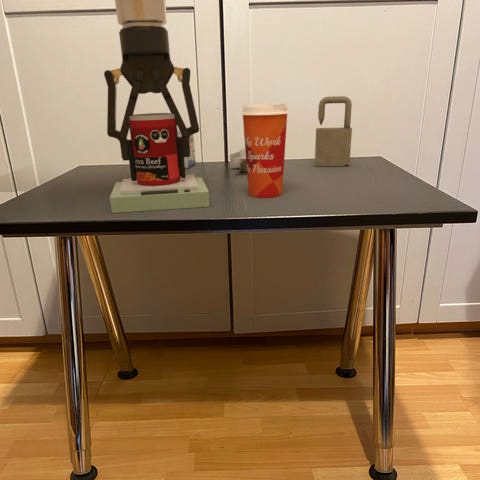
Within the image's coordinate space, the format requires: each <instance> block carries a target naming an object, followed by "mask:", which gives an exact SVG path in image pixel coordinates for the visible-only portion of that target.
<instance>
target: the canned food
mask: <svg viewBox="0 0 480 480" xmlns="http://www.w3.org/2000/svg"><path fill="white" fill-rule="evenodd" d="M129 118H130V119H129V122H130V127H129V134H130V139H131V142H132V150H133V158H134V166H135V174H136V180H137V182H138V184H140V185H144V186H161V185H169V184H174V183H177V182H179V181H180V177H181V172H180V160H179V147H178V134H177V129H178V126H177V124H176V122H175V117H174V114H171V112H154V113H152V112H151V113H137V114H136V113H134V114H133V116H129Z"/></svg>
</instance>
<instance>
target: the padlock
mask: <svg viewBox="0 0 480 480" xmlns="http://www.w3.org/2000/svg"><path fill="white" fill-rule="evenodd" d="M329 104H345V105H344V120H343V127H316V128H315V147H314V167H345V165H351V164H350V163H351V149H352V135H353V128H352V127H351V124H352V123H351V121H352V107H353V106H352V104H353V103H352V100H351V99H350V98H349V97H348V96H345V95H337V96H324V97H323V98H321V100H319V102H318V112H317V115H318V116H317V118H318V122H319V125H320V126H322V125H323V123H324V121H325V118H326V117H325V115H326V114H325V113H326V112H325V111H326V105H329Z"/></svg>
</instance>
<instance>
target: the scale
mask: <svg viewBox="0 0 480 480" xmlns="http://www.w3.org/2000/svg"><path fill="white" fill-rule="evenodd" d="M185 176H186V178H181V177H180V181H179V182H177V183H174V184H169V185H161V186H144V185H140V184H138V182H137V180H136V181H132V180H131V178H123V180H122V181H116V182H115V184H114V185H113V188H112V191H111V193H110V195H109V204H110V211H111V214H119V213H120V214H121V213H136V212H151V211H152V212H153V211H165V210H166V211H167V210H168V211H169V210H183V209H196V208H197V209H198V208H210V192H209V189H208V188H207V185H206V183H205V181H204V180H203V177H202V176H201V177H199V176H198V177H195V175H194V174H188V175H186V174H185Z"/></svg>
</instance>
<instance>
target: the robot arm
mask: <svg viewBox="0 0 480 480" xmlns="http://www.w3.org/2000/svg"><path fill="white" fill-rule="evenodd" d="M114 2H115V11H116V20H117V24H118V25H119V26H121V27H122V28H120V29H119V32H118V35H119V44H120V52H121V59H122V60H121V65H120V67H119V68H116V69H112V70H109V69H107V70H105V71H104V72H103V76H104V79H105V82H106V85H107V114H106V115H107V120H106V121H107V122H106V123H107V124H106V126H107V127H106V133H107V136H108V137H109V138H112V139H116V140H118V141H119V146H120V147H119V148H120V154H121V158H122V161H123V162H124V161H128V164H129V172H130V179H131V180H132V181H136V174H135V166H134V158H133V150H132V142H131V138H129V139H128V135H129V133H130V128H129V127H130V122H129V119H130V118H129V116H133V115H134V114H135V109H136V106H137V102H138V99H139V95H145V94H149V93H152V94H161V96H162V97H163V100H164V102H165V104H166V106H167V108H168V109H169V113H171V114H174V117H175V122H176V124H177V129H179V130H180V132H181V136H182V137H178V147H179V160H180V172H181V178H186V176H185V175H186V169H185V164H184V157H190V143H189V138H190V136H191V135H193V136H194V135H195V134H197V133H199V132H200V127H199V121H198V117H197V113H196V108H195V103H194V99H193V93H192V89H191V85H190V82H191V69H190V68H189V67H179V66H174V63H173V62H172V60H171V52H170V50H171V49H170V40H169V39H170V38H169V31H168V30H167V28H165V25H166V24H167V23H168V17H167V5H166V4H167V3H166V0H114ZM173 75H175V76H176V80H177V81H178V83H181V89H182V90H181V91H182V93H183V98H184V103H185V107H186V108H185V109H186V112H187V115H188V120H189V125H190V126H188V127H187V126H186V124H185V122H184V120H183V118H182V115H181V113H180V112H179V109H178V107H177V106H176V103H175V101H174V99H173V97H172V95H171V93H170V91H169V88H168V84H169V82H170V80H171V78H172V76H173ZM121 77H123V78H124V79H125V80H126V82H127V83H128V84H129V85H130V87H131V89H130V93H129V97H128V101H127V105H126V108H125V111H124V115H123V119H122V123H121V126H120V130H118V129H117V102H118V101H117V99H118V97H117V95H118V94H117V93H118V92H117V91H118V90H117V85H119V84H120V82H121V81H120V80H121V79H120V78H121Z"/></svg>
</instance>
